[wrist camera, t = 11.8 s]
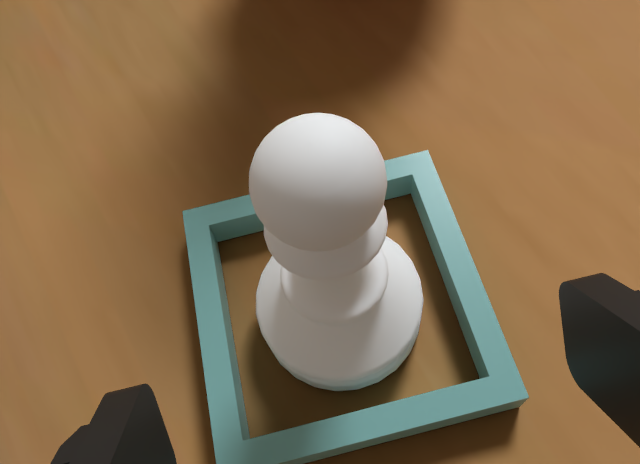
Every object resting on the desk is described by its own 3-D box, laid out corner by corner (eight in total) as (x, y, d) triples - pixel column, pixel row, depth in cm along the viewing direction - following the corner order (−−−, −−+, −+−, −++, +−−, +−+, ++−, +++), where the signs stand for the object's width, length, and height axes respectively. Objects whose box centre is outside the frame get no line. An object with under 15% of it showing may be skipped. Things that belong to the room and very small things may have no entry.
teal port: (425, 170, 21) (427, 150, 20) (519, 406, 17) (529, 397, 15) (192, 228, 20) (182, 211, 19) (228, 483, 16) (218, 479, 15)
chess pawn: (451, 346, 18) (506, 187, 10) (303, 422, 17) (234, 317, 9) (373, 221, 20) (367, 10, 12) (241, 284, 19) (143, 104, 11)
